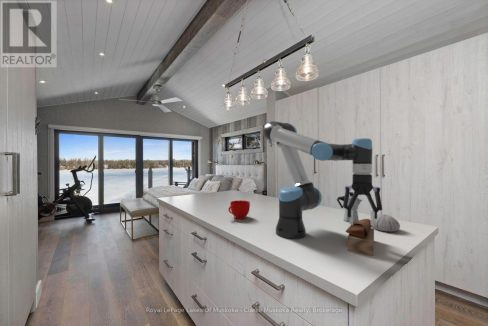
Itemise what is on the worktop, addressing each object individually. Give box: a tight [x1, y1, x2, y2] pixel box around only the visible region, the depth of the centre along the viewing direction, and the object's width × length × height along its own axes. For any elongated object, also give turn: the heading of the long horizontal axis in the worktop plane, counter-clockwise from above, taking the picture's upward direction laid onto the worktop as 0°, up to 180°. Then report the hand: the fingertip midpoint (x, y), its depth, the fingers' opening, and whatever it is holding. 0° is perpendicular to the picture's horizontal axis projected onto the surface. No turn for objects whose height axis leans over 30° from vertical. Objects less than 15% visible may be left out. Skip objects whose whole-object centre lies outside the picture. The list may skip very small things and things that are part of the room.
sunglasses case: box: [345, 218, 372, 237], centre depth 94 cm, size 18×7×7 cm
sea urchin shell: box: [373, 214, 401, 233], centre depth 114 cm, size 13×14×8 cm
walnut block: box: [347, 227, 375, 257], centre depth 93 cm, size 9×19×6 cm, turn 147°
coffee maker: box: [336, 191, 363, 223], centre depth 131 cm, size 15×9×18 cm, turn 48°
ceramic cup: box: [227, 199, 251, 220], centre depth 136 cm, size 13×17×10 cm
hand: (361, 225), depth 92 cm, fingers closed on sunglasses case, 8 cm apart
